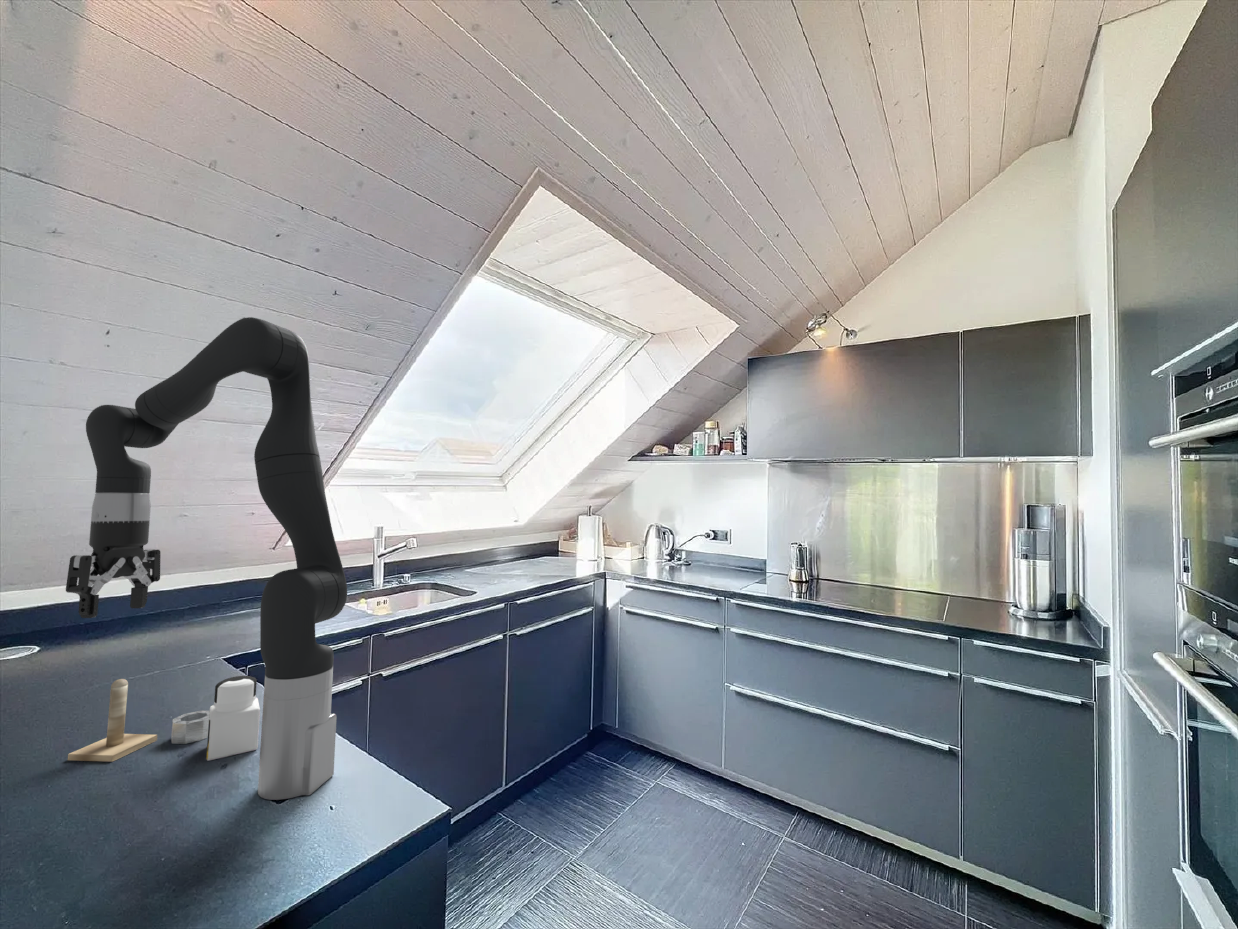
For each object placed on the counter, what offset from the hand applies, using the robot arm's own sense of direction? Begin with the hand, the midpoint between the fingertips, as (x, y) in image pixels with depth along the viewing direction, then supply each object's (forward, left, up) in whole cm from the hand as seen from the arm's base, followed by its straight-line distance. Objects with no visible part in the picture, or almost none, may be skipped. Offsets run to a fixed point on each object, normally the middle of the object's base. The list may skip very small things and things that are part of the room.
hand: (114, 612), depth 90 cm
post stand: (+1, -3, -24) cm, 25 cm away
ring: (-8, -9, -24) cm, 27 cm away
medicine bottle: (-19, -5, -25) cm, 31 cm away
